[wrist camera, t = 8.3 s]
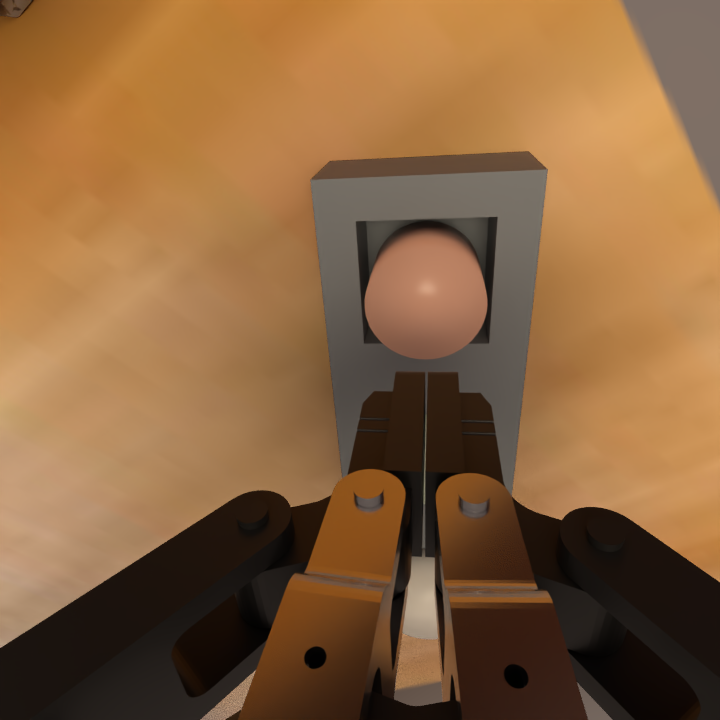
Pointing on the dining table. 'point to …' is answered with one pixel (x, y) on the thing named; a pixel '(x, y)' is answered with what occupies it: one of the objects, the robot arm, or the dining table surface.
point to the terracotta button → (426, 291)
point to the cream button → (421, 599)
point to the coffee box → (13, 7)
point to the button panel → (497, 261)
